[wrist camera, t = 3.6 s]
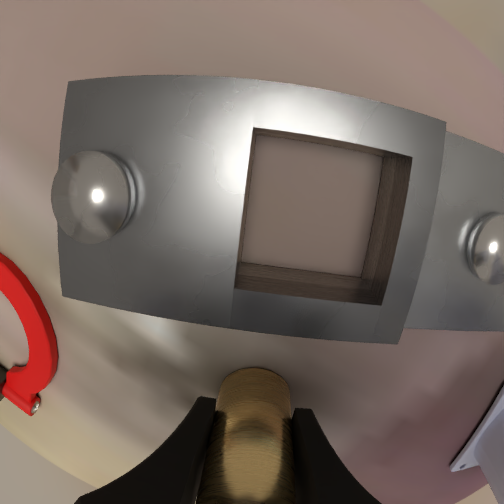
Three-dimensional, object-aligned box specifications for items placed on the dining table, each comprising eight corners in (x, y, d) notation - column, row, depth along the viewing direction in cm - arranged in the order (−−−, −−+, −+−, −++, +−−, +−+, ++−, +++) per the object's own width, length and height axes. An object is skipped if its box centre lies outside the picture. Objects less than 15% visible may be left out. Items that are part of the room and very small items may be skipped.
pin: (296, 372, 12) (307, 496, 7) (282, 421, 13) (285, 533, 7) (222, 363, 12) (194, 485, 7) (217, 413, 13) (195, 524, 7)
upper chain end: (412, 127, 10) (456, 120, 7) (376, 312, 12) (403, 354, 9) (103, 93, 10) (57, 78, 7) (94, 273, 12) (53, 303, 9)
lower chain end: (532, 173, 10) (558, 177, 8) (496, 319, 11) (517, 337, 10) (231, 94, 10) (223, 81, 8) (209, 292, 12) (200, 314, 10)
